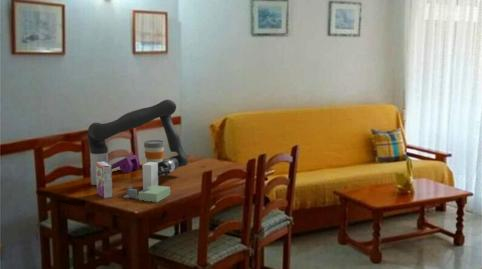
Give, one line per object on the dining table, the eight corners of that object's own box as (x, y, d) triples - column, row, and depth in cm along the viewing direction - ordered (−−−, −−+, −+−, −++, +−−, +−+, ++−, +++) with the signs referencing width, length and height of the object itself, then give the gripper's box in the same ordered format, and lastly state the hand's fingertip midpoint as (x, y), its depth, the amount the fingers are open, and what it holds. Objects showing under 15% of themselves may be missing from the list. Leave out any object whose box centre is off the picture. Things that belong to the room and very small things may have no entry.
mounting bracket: (110, 180, 326) (131, 170, 317) (105, 167, 326) (126, 157, 318) (121, 176, 334) (141, 167, 326) (115, 164, 335) (136, 154, 326)
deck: (137, 191, 280) (136, 182, 279) (170, 194, 274) (170, 186, 273) (122, 198, 267) (122, 189, 266) (156, 202, 261) (156, 193, 260)
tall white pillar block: (149, 187, 287) (149, 161, 285) (158, 188, 285) (157, 162, 283) (143, 190, 281) (142, 164, 278) (151, 191, 279) (151, 165, 277)
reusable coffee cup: (168, 164, 341) (168, 141, 339) (155, 168, 331) (155, 144, 328) (153, 162, 348) (153, 139, 345) (140, 166, 338) (139, 142, 335)
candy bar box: (96, 193, 275) (94, 162, 272) (105, 192, 278) (104, 161, 275) (103, 199, 266) (102, 166, 263) (113, 197, 269) (112, 165, 266)
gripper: (153, 159, 299) (138, 165, 284) (177, 161, 294) (163, 167, 279) (154, 172, 300) (139, 179, 285) (177, 174, 295) (163, 181, 280)
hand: (151, 173), depth 282 cm, fingers open, 8 cm apart
